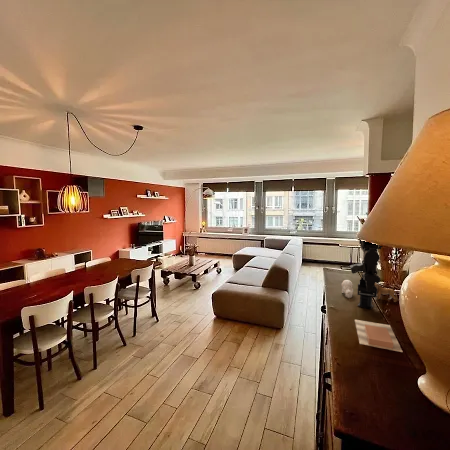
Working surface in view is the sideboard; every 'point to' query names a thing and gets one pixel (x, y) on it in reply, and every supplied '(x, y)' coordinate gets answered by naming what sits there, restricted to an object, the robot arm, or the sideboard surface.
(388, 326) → the board
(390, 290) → the lion figurine
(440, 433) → the sideboard surface
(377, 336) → the tile
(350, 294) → the white rounded lump
